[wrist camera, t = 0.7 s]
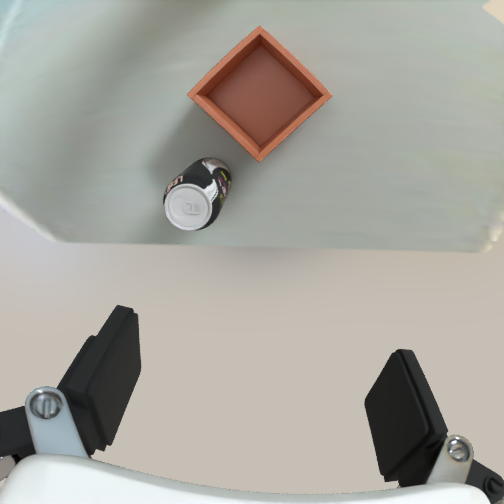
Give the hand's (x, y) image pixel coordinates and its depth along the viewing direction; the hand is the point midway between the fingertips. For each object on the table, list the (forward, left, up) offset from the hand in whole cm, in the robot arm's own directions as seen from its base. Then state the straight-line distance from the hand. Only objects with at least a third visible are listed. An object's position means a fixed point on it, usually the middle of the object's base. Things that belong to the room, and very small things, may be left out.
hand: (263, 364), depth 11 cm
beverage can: (-5, -6, -32) cm, 32 cm away
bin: (-8, +6, -31) cm, 33 cm away
